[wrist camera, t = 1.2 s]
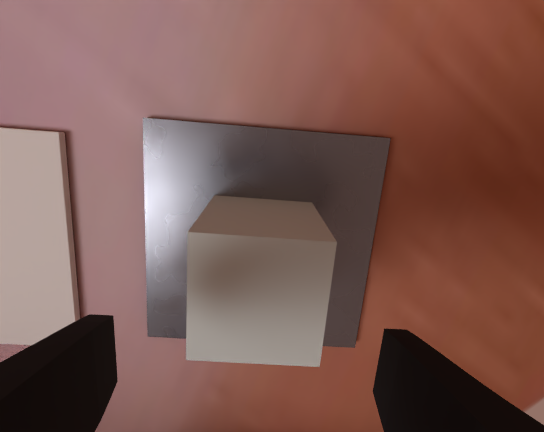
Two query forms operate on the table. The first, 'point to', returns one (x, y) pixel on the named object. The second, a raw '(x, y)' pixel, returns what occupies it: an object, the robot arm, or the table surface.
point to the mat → (35, 237)
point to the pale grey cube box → (258, 282)
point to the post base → (264, 185)
